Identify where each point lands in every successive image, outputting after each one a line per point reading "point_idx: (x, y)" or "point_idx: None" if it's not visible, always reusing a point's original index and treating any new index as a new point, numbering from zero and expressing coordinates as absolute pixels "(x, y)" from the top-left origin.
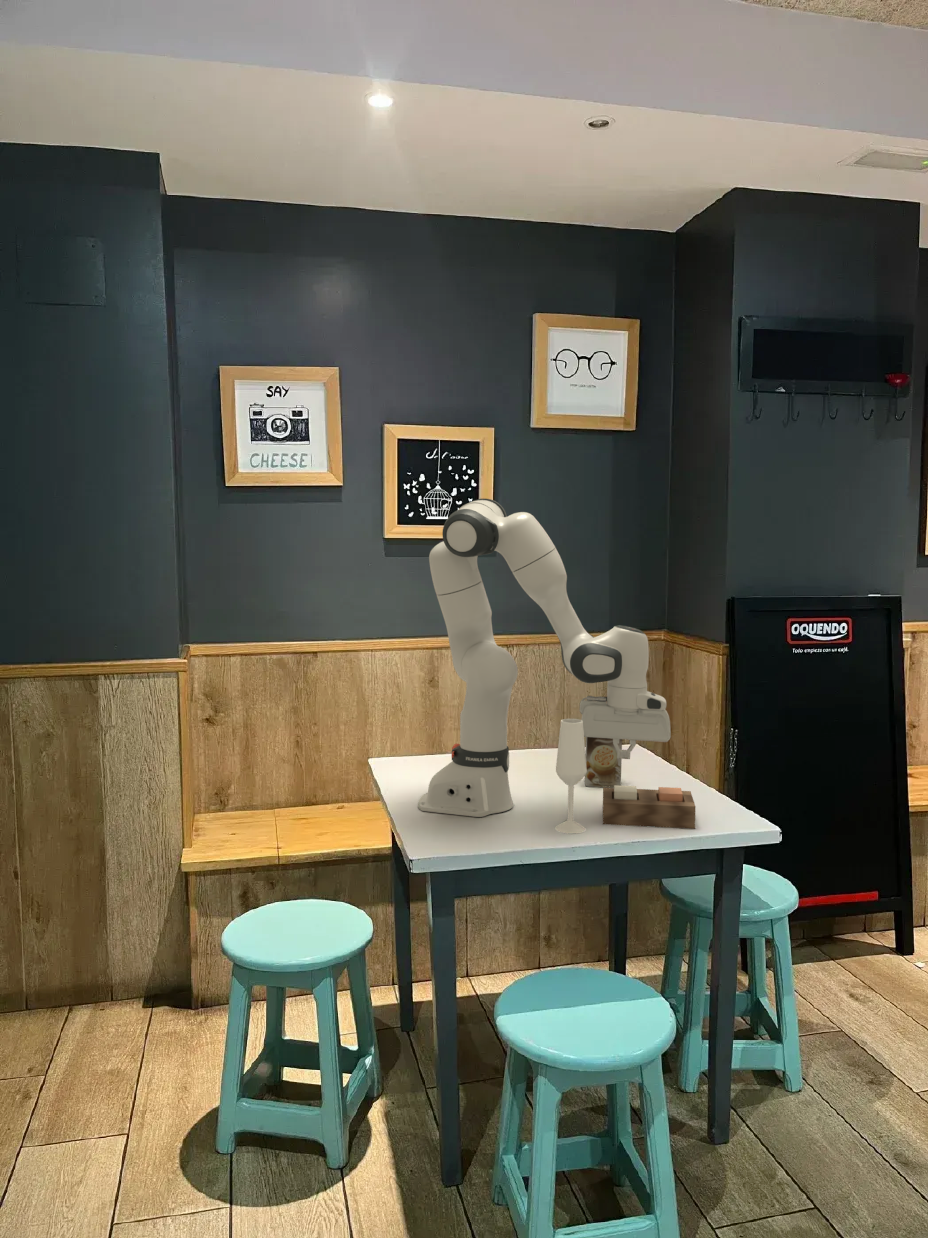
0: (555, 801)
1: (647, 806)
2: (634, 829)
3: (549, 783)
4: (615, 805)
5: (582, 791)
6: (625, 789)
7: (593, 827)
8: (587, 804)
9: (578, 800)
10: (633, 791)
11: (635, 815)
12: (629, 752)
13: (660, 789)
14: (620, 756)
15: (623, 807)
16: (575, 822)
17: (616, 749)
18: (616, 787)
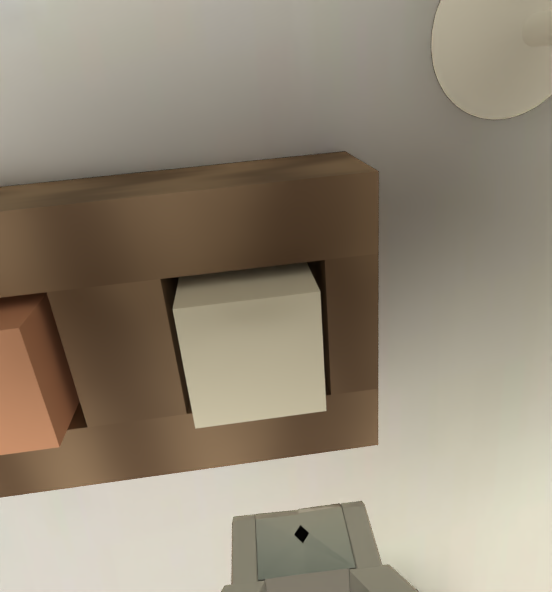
0: (541, 414)
1: (95, 197)
2: (177, 111)
3: (541, 585)
4: (297, 175)
5: (429, 544)
6: (253, 349)
7: (390, 91)
8: (414, 414)
9: (448, 449)
10: (197, 320)
11: (176, 178)
12: (241, 574)
13: (35, 405)
14: (333, 517)
15: (247, 179)
16: (504, 25)
17: (400, 577)
18: (311, 373)
